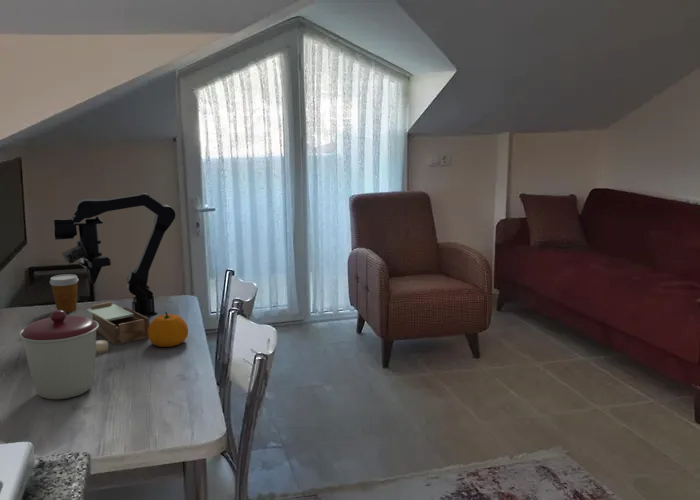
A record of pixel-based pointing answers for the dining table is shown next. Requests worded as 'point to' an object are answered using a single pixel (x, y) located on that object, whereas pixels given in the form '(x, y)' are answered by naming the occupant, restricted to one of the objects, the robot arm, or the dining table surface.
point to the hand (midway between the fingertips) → (92, 283)
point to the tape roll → (101, 346)
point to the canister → (61, 354)
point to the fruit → (167, 330)
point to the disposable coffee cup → (65, 291)
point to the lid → (109, 311)
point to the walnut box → (123, 328)
